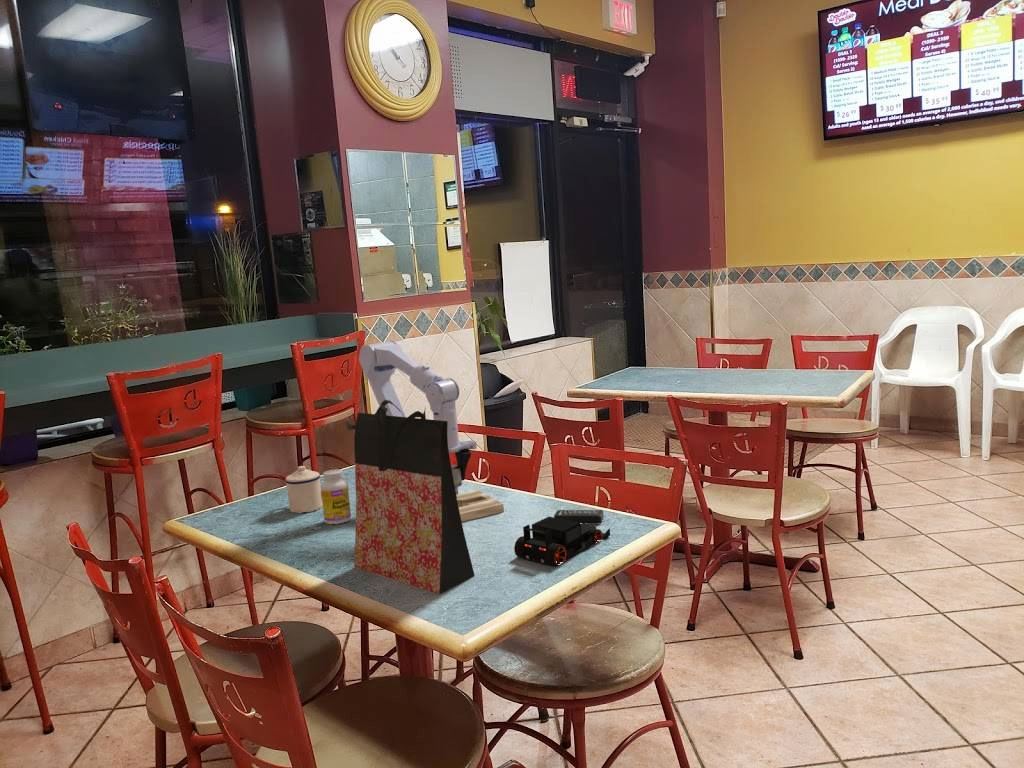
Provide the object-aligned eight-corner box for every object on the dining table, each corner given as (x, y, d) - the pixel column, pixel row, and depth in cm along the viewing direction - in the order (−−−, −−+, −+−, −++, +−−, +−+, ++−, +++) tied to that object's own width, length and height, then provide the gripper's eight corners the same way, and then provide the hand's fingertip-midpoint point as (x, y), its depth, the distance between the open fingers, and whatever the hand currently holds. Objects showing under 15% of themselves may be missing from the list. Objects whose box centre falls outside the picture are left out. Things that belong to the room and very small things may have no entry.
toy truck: (611, 538, 166) (608, 506, 165) (554, 570, 151) (551, 535, 150) (572, 530, 173) (570, 499, 171) (514, 560, 158) (511, 526, 157)
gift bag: (484, 570, 153) (468, 399, 147) (433, 597, 142) (413, 413, 137) (389, 545, 172) (372, 392, 167) (337, 567, 161) (317, 405, 156)
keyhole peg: (439, 493, 191) (437, 467, 190) (457, 489, 194) (454, 463, 193) (448, 498, 187) (446, 471, 186) (466, 493, 190) (464, 467, 189)
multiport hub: (601, 525, 174) (600, 515, 174) (554, 525, 177) (553, 515, 177) (604, 519, 178) (603, 509, 178) (558, 519, 181) (557, 509, 181)
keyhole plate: (424, 508, 196) (423, 501, 196) (477, 496, 203) (476, 489, 203) (448, 525, 182) (447, 517, 182) (504, 511, 189) (503, 503, 188)
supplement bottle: (332, 527, 188) (326, 476, 186) (320, 522, 193) (313, 472, 191) (356, 519, 192) (350, 470, 190) (343, 514, 197) (337, 466, 195)
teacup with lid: (330, 505, 206) (325, 464, 204) (303, 516, 199) (297, 472, 197) (303, 500, 213) (298, 460, 212) (276, 509, 207) (270, 468, 205)
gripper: (424, 436, 181) (430, 491, 183) (479, 426, 188) (484, 479, 190) (414, 431, 188) (419, 484, 190) (468, 422, 194) (473, 473, 196)
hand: (451, 481), depth 190 cm, fingers closed on keyhole peg, 5 cm apart
